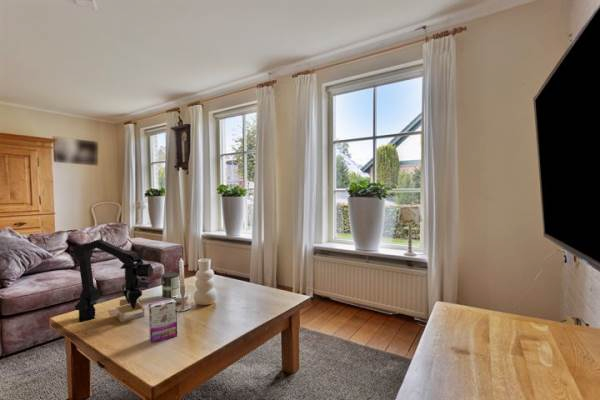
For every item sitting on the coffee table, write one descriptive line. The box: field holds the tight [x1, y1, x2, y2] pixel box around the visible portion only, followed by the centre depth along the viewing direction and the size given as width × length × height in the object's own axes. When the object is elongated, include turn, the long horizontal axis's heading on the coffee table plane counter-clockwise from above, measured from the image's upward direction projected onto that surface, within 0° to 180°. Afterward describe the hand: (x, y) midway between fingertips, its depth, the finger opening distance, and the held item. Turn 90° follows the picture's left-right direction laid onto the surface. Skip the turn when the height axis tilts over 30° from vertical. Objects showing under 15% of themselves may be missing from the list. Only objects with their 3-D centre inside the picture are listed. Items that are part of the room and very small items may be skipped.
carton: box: [107, 302, 145, 323], centre depth 153 cm, size 15×15×4 cm
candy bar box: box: [148, 298, 178, 344], centre depth 133 cm, size 11×5×16 cm, turn 126°
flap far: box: [137, 297, 145, 308], centre depth 159 cm, size 1×8×4 cm, turn 41°
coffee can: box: [161, 271, 180, 300], centre depth 185 cm, size 10×10×14 cm
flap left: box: [119, 298, 130, 307], centre depth 160 cm, size 8×1×4 cm, turn 132°
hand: (131, 305), depth 153 cm, fingers open, 9 cm apart
